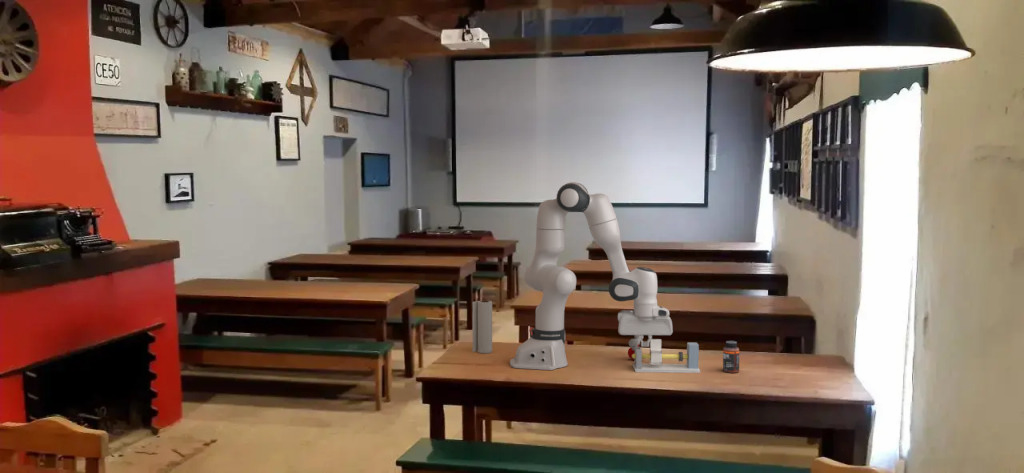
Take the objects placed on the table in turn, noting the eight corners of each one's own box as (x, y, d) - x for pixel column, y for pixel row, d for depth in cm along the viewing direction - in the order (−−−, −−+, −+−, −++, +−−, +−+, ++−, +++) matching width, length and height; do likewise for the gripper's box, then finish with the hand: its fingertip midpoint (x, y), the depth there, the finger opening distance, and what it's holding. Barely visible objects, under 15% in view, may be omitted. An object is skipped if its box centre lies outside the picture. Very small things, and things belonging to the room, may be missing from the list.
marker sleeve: (651, 364, 297) (651, 340, 296) (649, 361, 302) (649, 337, 301) (661, 364, 297) (662, 340, 296) (659, 361, 302) (660, 337, 301)
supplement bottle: (738, 370, 299) (739, 340, 298) (739, 373, 293) (740, 343, 292) (722, 369, 300) (722, 339, 299) (723, 373, 294) (723, 343, 293)
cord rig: (633, 372, 295) (633, 345, 295) (630, 366, 304) (630, 340, 304) (700, 372, 295) (700, 346, 294) (695, 366, 304) (695, 341, 303)
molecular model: (638, 365, 306) (638, 340, 305) (623, 364, 307) (624, 339, 306) (644, 355, 322) (645, 331, 321) (631, 354, 324) (631, 330, 323)
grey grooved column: (495, 351, 329) (495, 300, 327) (487, 354, 324) (487, 302, 322) (480, 349, 332) (480, 299, 331) (472, 352, 327) (472, 301, 325)
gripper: (618, 311, 295) (618, 348, 296) (673, 311, 294) (673, 348, 295) (616, 308, 301) (616, 344, 303) (670, 308, 301) (670, 344, 302)
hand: (645, 346), depth 299 cm, fingers closed
